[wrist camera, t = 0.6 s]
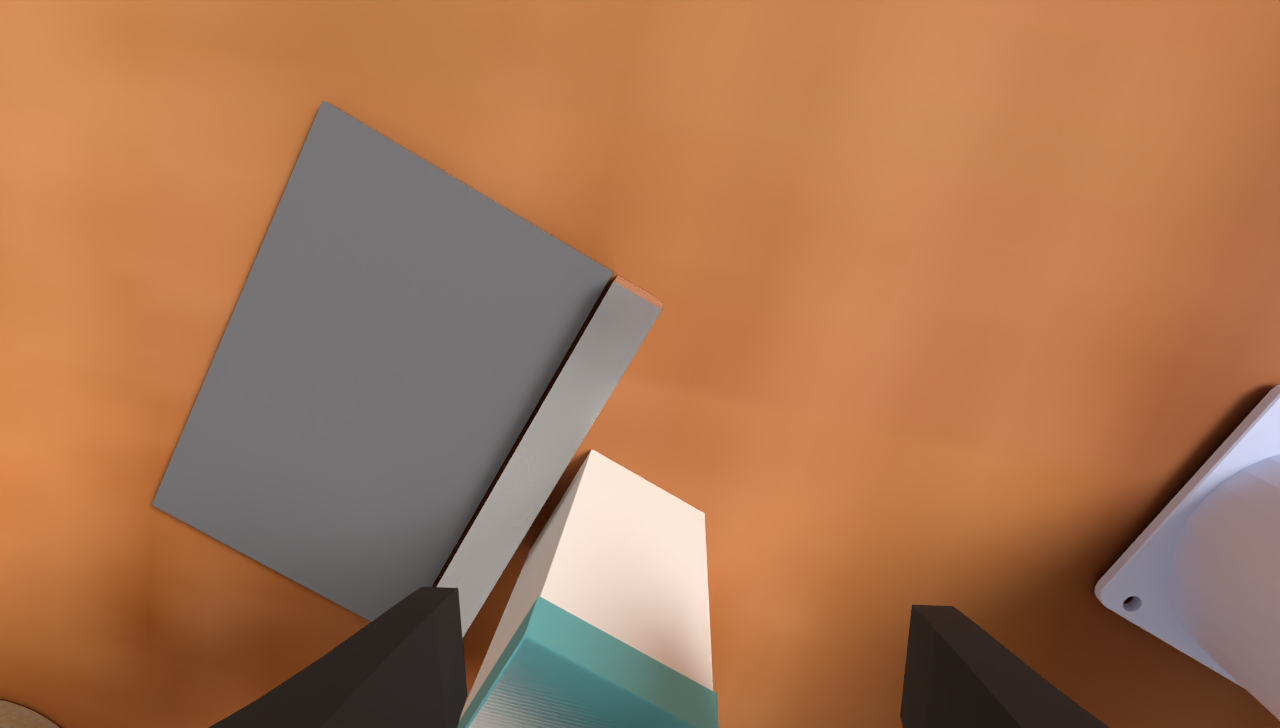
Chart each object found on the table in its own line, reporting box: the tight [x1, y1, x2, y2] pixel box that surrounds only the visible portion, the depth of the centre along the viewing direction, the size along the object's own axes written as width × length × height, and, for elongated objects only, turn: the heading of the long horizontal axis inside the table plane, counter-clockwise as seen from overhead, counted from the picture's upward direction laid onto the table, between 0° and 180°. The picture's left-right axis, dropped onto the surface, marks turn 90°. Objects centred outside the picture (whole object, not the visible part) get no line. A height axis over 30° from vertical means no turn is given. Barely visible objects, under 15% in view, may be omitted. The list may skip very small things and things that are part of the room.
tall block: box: [457, 449, 719, 728], centre depth 18 cm, size 4×4×9 cm
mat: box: [152, 101, 613, 622], centre depth 21 cm, size 9×14×1 cm, turn 150°
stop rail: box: [437, 275, 664, 638], centre depth 21 cm, size 2×14×1 cm, turn 150°
